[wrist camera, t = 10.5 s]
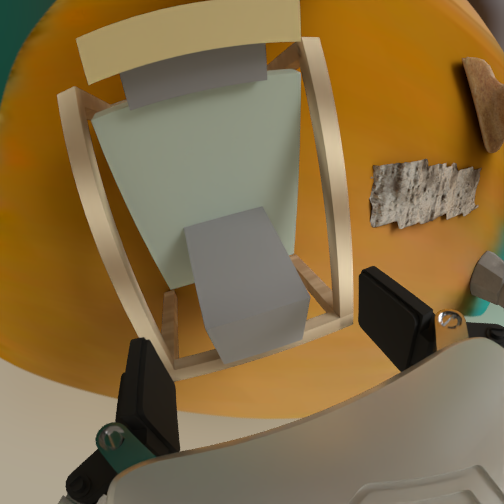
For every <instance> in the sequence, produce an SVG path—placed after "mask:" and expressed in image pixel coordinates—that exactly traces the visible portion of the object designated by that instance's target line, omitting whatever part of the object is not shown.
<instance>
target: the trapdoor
mask: <svg viewBox="0 0 504 504" xmlns="http://www.w3.org/2000/svg"><path fill="white" fill-rule="evenodd" d="M76 42H77V46H78V49H79V53H80V57H81V61H82V64H83V68H84V71H85V75H86V78H87V82H88V85H90V84H92V83H95V82H97V81H100V80H102V79H105V78H108V77H110V76H113V75H116V74H118V73H120V77H121V81H122V84H123V88H124V92H125V95H126V99H127V102H124V103H121V104H118V105H116V106H113V107H110V108H107V109H105V110H102V111H100V112H97V113H95V114H94V116H93V118H92V120H91V121H92V124H93V127H94V130H95V132H96V135H97V137H98V140H99V143H100V145H101V148H102V150H103V153H104V155H105V157H106V160H107V162H108V165H109V167H110V169H111V172H112V174H113V176H114V179H115V181H116V183H117V185H118V188H119V190H120V192H121V194H122V197H123V199H124V201H125V203H126V205H127V207H128V209H129V211H130V214H131V216H132V218H133V220H134V222H135V224H136V226H137V228H138V230H139V232H140V234H141V236H142V238H143V240H144V242H145V244H146V246H147V248H148V249H149V251H150V253H151V255H152V257H153V259H154V261H155V263H156V264H157V266H158V268H159V270H160V272H161V274H162V275H163V277H164V279H165V281H166V283H167V284H168V286H169V288H170V290H172V289H175V288H179V287H182V286H186V285H189V284H193V283H195V281H194V277H193V272H192V267H191V262H190V257H189V252H188V247H187V242H186V237H185V232H184V227H187V226H191V225H194V224H198V223H202V222H205V221H209V220H212V219H216V218H220V217H223V216H227V215H231V214H234V213H238V212H242V211H246V210H250V209H254V208H258V207H261V206H263V208H264V210H265V212H266V214H267V216H268V217H269V219H270V221H271V223H272V225H273V227H274V228H275V230H276V232H277V234H278V236H279V238H280V240H281V242H282V244H283V245H284V247H285V249H286V251H287V253H288V255H292V254H294V243H295V229H296V213H297V195H298V174H299V148H300V106H301V73H300V72H298V71H296V70H294V69H280V70H269V71H267V63H266V46H265V43H272V42H301V22H300V0H210V1H203V2H196V3H190V4H185V5H180V6H175V7H170V8H165V9H161V10H157V11H153V12H149V13H146V14H142V15H138V16H135V17H132V18H129V19H125V20H122V21H119V22H116V23H114V24H111V25H108V26H105V27H103V28H100V29H98V30H95V31H93V32H90V33H88V34H85V35H83V36H81V37H79V38H76Z"/></svg>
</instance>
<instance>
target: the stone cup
mask: <svg viewBox="0 0 504 504" xmlns="http://www.w3.org/2000/svg"><path fill="white" fill-rule="evenodd" d="M462 62H463V66H464V69H465V72H466V76H467V79H468V82H469V86H470V90H471V93H472V97H473V101H474V105H475V109H476V112H477V117H478V121H479V125H480V129H481V133H482V138H483V142H484V145H485V148H486V150H487V152H489V153H494V152H496V151H498V150H499V149H500V147H501V146H502V144H503V142H504V84H501V83H500V82H498V81H497V79H496V78H495V76H494V74H493V72H492V69H491V67H490V65H488V64H487V62H485V61H484V60H482V59H479V58H472V57H467V58H462Z"/></svg>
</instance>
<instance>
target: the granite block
mask: <svg viewBox="0 0 504 504" xmlns="http://www.w3.org/2000/svg"><path fill="white" fill-rule="evenodd" d="M184 232H185V237H186V242H187V247H188V252H189V257H190V262H191V267H192V272H193V277H194V281H195V286H196V291H197V295H198V299H199V304H200V308H201V312H202V317H203V321H204V325H205V329H206V331H207V333H208V335H209V337H210V339H211V341H212V343H213V345H214V346H215V348H216V350H217V352H218V354H219V356H220V358H221V359H222V361H223V363H224V364H228V363H231V362H235V361H238V360H241V359H245V358H248V357H251V356H255V355H258V354H261V353H264V352H267V351H270V350H273V349H276V348H279V347H282V346H285V345H288V344H291V343H294V342H297V341H300V340H302V339H303V334H304V329H305V324H306V318H307V313H308V307H309V302H310V296H309V294H308V292H307V290H306V288H305V286H304V284H303V282H302V280H301V278H300V276H299V274H298V272H297V270H296V268H295V266H294V264H293V263H292V261H291V259H290V257H289V255H288V253H287V251H286V249H285V247H284V245H283V244H282V242H281V240H280V238H279V236H278V234H277V232H276V230H275V228H274V227H273V225H272V223H271V221H270V219H269V217H268V216H267V214H266V212H265V210H264V208H263V206H261V207H258V208H254V209H250V210H246V211H242V212H238V213H234V214H231V215H227V216H223V217H220V218H216V219H212V220H209V221H205V222H202V223H198V224H194V225H191V226H187V227H184Z"/></svg>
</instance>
